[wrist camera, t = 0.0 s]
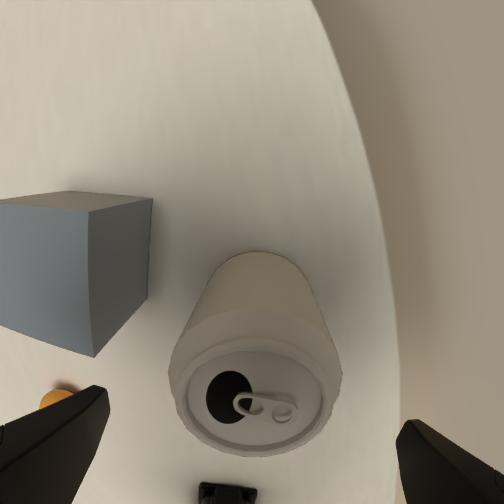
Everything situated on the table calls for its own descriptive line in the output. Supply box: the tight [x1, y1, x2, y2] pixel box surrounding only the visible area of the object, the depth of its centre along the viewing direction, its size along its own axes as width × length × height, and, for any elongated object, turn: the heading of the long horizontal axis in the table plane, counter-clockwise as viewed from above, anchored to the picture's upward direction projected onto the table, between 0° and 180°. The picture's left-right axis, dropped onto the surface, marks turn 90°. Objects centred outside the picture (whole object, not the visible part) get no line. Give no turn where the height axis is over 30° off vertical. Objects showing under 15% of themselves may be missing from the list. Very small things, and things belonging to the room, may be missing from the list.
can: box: [168, 252, 342, 457], centre depth 17 cm, size 8×8×12 cm
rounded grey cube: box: [0, 191, 152, 358], centre depth 18 cm, size 8×8×9 cm
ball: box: [39, 390, 73, 409], centre depth 23 cm, size 5×5×5 cm
